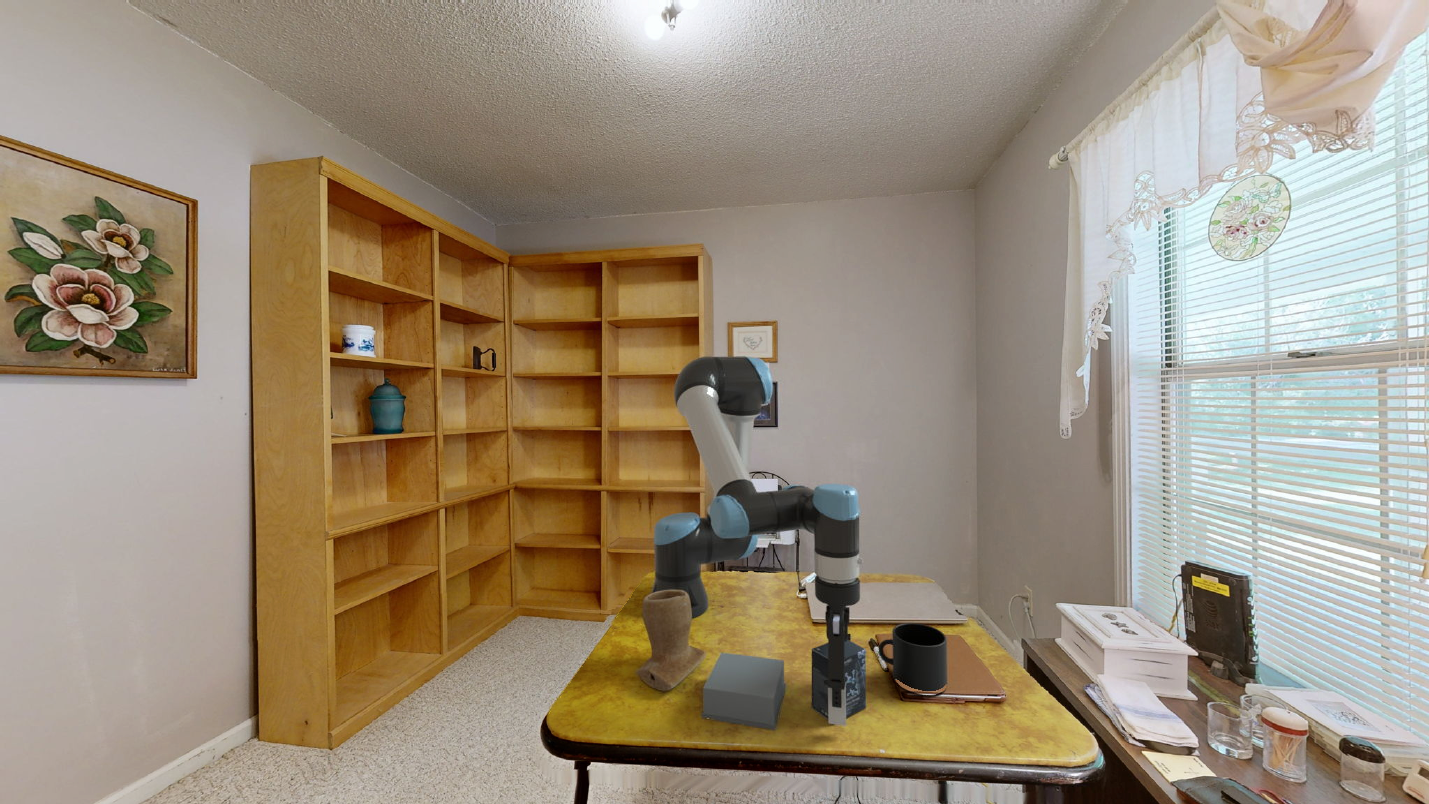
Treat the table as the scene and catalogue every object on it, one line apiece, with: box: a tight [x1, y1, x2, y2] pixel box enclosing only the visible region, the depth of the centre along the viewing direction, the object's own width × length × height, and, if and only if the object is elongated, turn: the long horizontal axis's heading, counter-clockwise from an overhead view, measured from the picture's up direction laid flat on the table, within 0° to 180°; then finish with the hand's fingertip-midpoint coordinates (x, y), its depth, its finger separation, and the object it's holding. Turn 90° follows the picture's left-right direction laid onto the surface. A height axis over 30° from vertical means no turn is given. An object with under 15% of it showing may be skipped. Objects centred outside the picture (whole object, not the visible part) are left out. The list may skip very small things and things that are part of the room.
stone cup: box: [636, 590, 707, 692], centre depth 100 cm, size 15×12×15 cm
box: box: [811, 640, 867, 720], centre depth 87 cm, size 8×6×11 cm
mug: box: [878, 622, 948, 691], centre depth 95 cm, size 9×12×9 cm
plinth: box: [700, 652, 787, 731], centre depth 89 cm, size 13×13×5 cm
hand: (838, 698), depth 87 cm, fingers open, 13 cm apart
